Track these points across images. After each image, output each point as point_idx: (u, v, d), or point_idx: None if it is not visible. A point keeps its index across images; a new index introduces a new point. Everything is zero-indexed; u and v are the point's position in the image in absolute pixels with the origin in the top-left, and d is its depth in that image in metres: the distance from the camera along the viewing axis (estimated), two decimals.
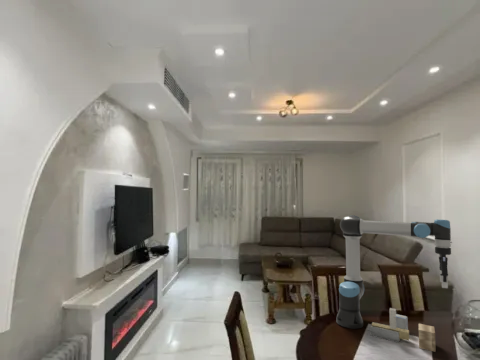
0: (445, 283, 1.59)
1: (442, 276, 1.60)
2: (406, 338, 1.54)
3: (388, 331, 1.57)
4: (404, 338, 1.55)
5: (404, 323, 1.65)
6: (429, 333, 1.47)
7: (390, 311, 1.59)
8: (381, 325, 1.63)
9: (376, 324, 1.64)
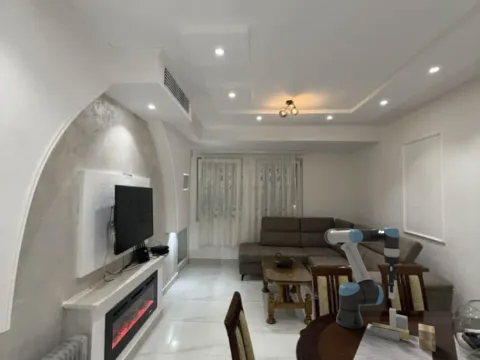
0: (392, 294, 1.54)
1: (389, 286, 1.55)
2: (406, 338, 1.54)
3: (388, 331, 1.57)
4: (404, 338, 1.55)
5: (404, 323, 1.65)
6: (429, 333, 1.47)
7: (390, 311, 1.59)
8: (381, 325, 1.63)
9: (376, 324, 1.64)
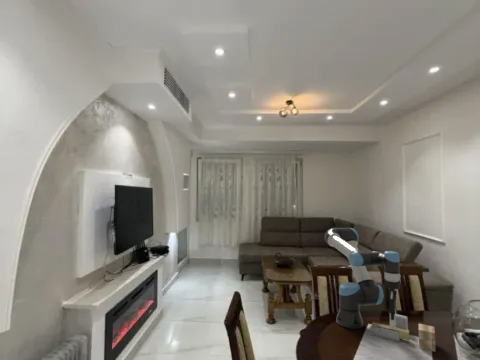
0: (393, 320, 1.58)
1: (390, 313, 1.59)
2: (406, 338, 1.54)
3: (388, 331, 1.57)
4: (404, 338, 1.55)
5: (404, 323, 1.65)
6: (429, 333, 1.47)
7: None
8: (381, 325, 1.63)
9: (376, 324, 1.64)
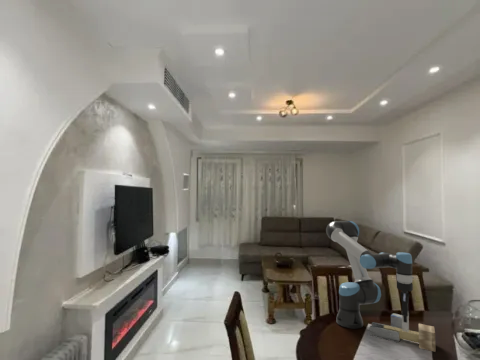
0: (405, 323, 1.55)
1: (403, 316, 1.55)
2: None
3: (388, 331, 1.57)
4: (417, 341, 1.52)
5: None
6: (429, 333, 1.47)
7: None
8: (393, 328, 1.59)
9: (388, 327, 1.61)
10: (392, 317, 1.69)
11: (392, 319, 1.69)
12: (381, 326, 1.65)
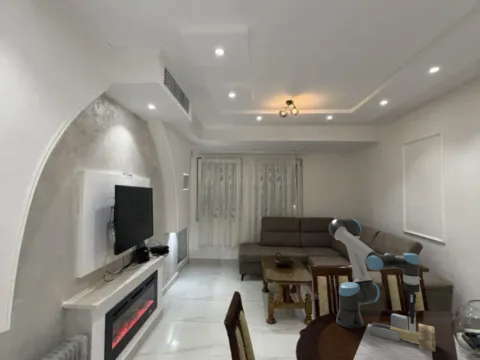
0: (412, 325, 1.53)
1: (410, 317, 1.54)
2: None
3: (388, 331, 1.57)
4: None
5: (404, 323, 1.65)
6: (429, 333, 1.47)
7: None
8: (400, 329, 1.58)
9: (394, 328, 1.59)
10: (392, 317, 1.69)
11: (392, 319, 1.69)
12: (381, 326, 1.65)
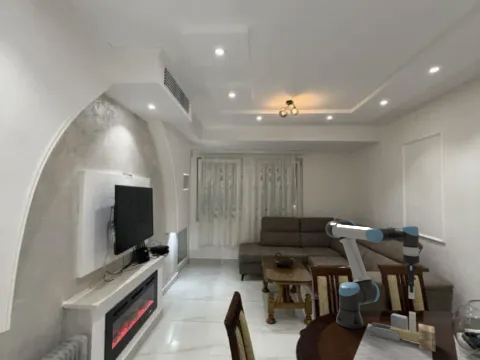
0: (412, 294, 1.50)
1: (409, 286, 1.51)
2: None
3: (388, 331, 1.57)
4: None
5: (404, 323, 1.65)
6: (429, 333, 1.47)
7: (410, 315, 1.54)
8: (400, 329, 1.58)
9: (395, 328, 1.59)
10: (392, 317, 1.69)
11: (392, 319, 1.69)
12: (381, 326, 1.65)
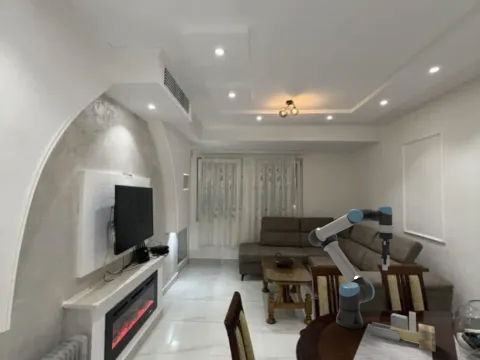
0: (385, 265, 1.68)
1: (382, 259, 1.69)
2: None
3: (388, 331, 1.57)
4: None
5: (404, 323, 1.65)
6: (429, 333, 1.47)
7: (410, 315, 1.54)
8: (400, 329, 1.58)
9: (395, 328, 1.59)
10: (392, 317, 1.69)
11: (392, 319, 1.69)
12: (381, 326, 1.65)
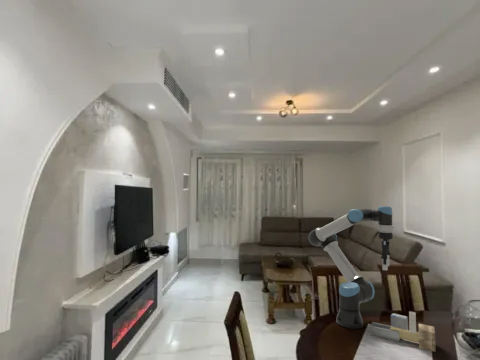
0: (385, 265, 1.68)
1: (382, 259, 1.69)
2: None
3: (388, 331, 1.57)
4: None
5: (404, 323, 1.65)
6: (429, 333, 1.47)
7: (410, 315, 1.54)
8: (400, 329, 1.58)
9: (395, 328, 1.59)
10: (392, 317, 1.69)
11: (392, 319, 1.69)
12: (381, 326, 1.65)
